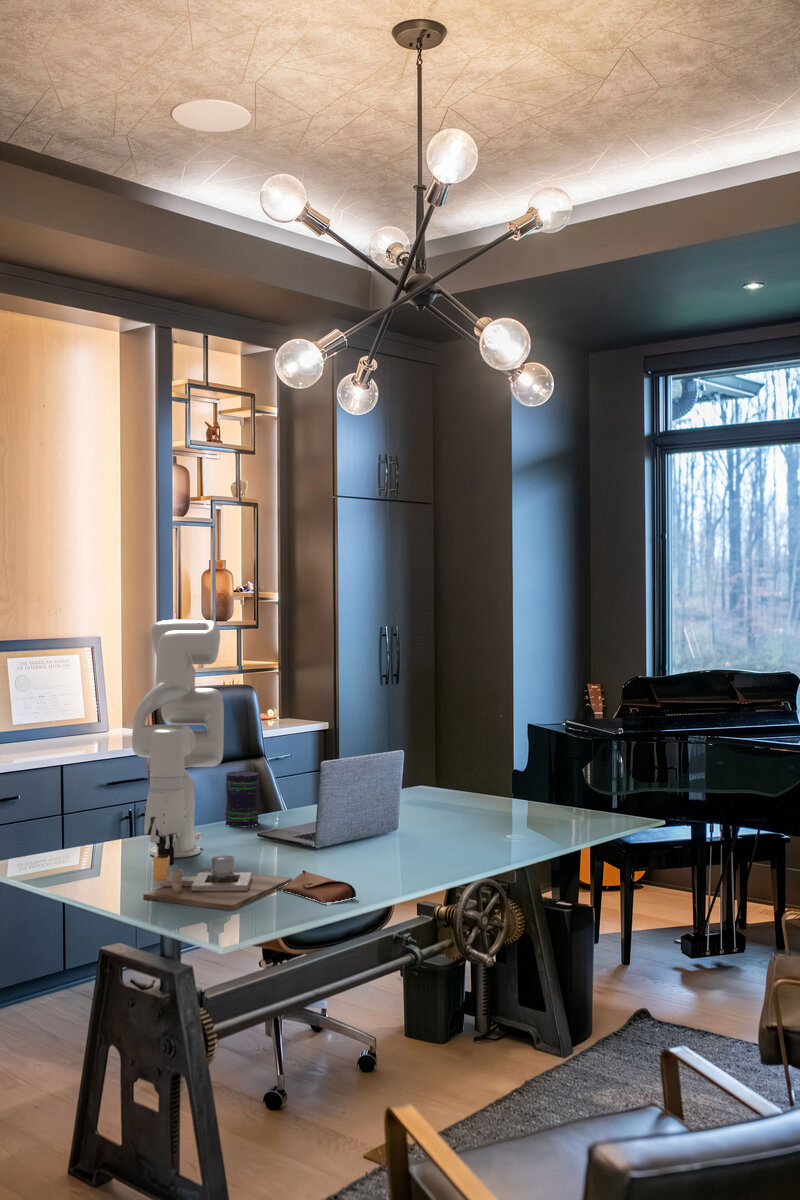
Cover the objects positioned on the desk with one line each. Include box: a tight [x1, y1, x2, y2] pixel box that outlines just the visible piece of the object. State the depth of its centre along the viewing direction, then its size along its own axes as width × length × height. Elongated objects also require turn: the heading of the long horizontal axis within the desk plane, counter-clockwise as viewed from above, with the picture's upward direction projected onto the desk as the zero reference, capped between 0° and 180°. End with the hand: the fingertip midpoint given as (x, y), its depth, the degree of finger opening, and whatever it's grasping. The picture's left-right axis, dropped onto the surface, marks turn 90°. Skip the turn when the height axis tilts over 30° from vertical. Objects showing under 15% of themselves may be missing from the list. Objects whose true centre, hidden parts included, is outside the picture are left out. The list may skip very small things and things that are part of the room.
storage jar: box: [224, 770, 260, 827], centre depth 314 cm, size 10×10×15 cm
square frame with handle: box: [152, 855, 253, 891], centre depth 236 cm, size 21×12×6 cm, turn 94°
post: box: [210, 855, 235, 883], centre depth 236 cm, size 5×5×6 cm
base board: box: [142, 868, 293, 911], centre depth 235 cm, size 26×22×1 cm
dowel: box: [171, 868, 183, 894], centre depth 229 cm, size 2×2×5 cm
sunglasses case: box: [279, 869, 357, 903], centre depth 233 cm, size 18×7×7 cm
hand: (165, 865), depth 240 cm, fingers closed
